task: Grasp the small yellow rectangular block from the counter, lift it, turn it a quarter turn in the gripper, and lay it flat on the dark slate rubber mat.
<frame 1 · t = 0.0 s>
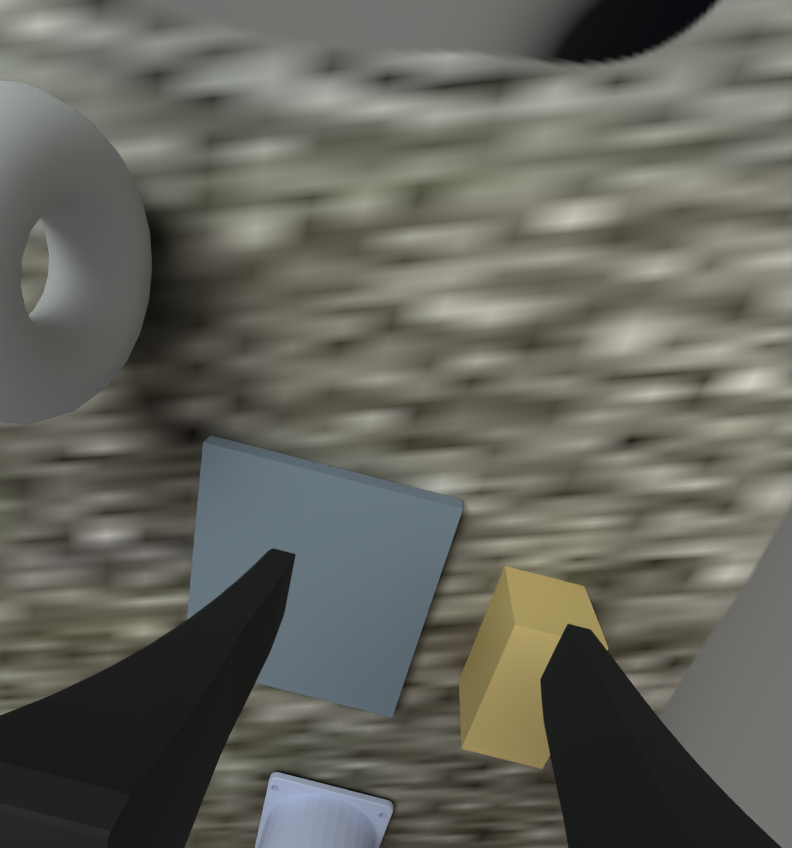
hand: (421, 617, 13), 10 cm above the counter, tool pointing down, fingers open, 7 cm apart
donut: (133, 258, 20), on the counter
yellow rectangular block: (517, 633, 26), on the counter
mat: (311, 584, 25), on the counter
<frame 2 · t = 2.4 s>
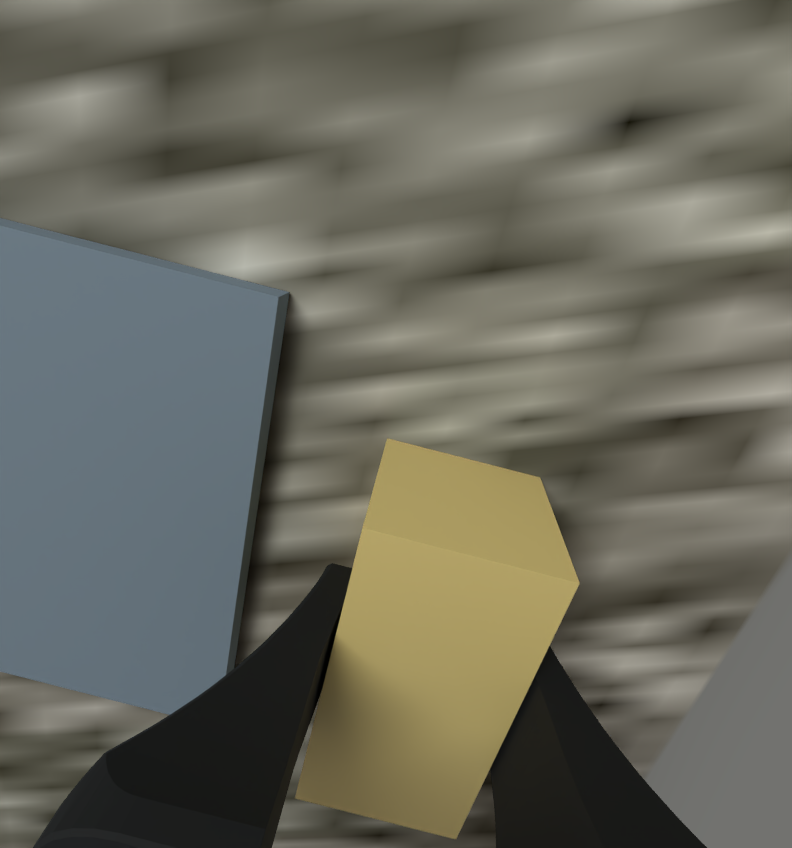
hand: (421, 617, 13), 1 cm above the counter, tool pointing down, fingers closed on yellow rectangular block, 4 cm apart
yellow rectangular block: (424, 580, 14), on the counter, touching gripper
mat: (48, 485, 14), on the counter
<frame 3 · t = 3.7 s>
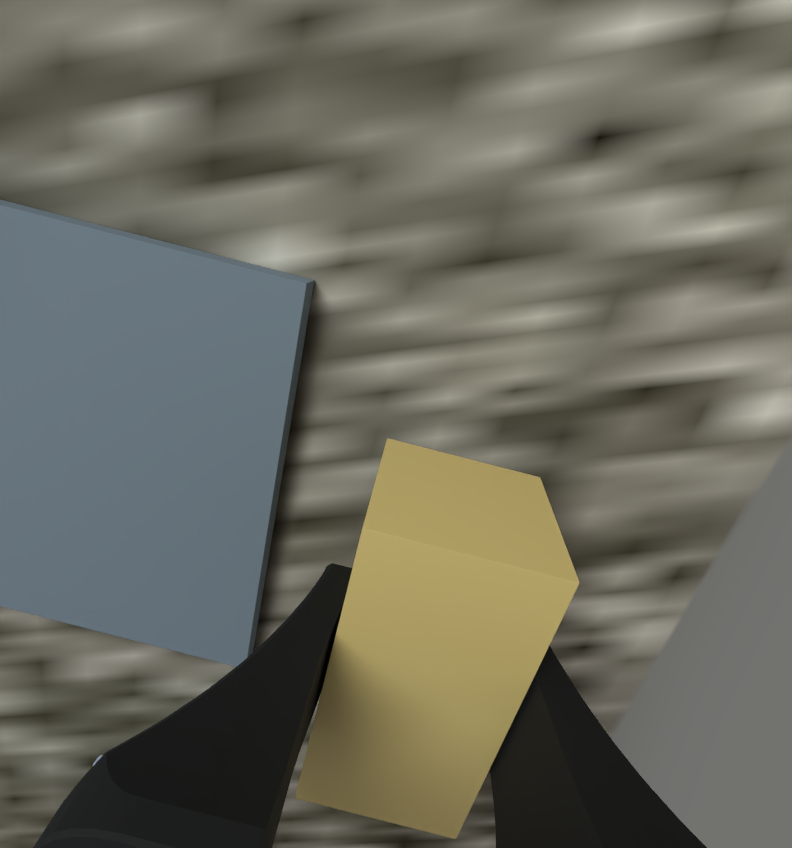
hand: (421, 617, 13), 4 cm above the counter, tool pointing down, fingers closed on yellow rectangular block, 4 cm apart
yellow rectangular block: (424, 579, 14), point 2 cm above the counter, touching gripper
mat: (99, 451, 16), on the counter
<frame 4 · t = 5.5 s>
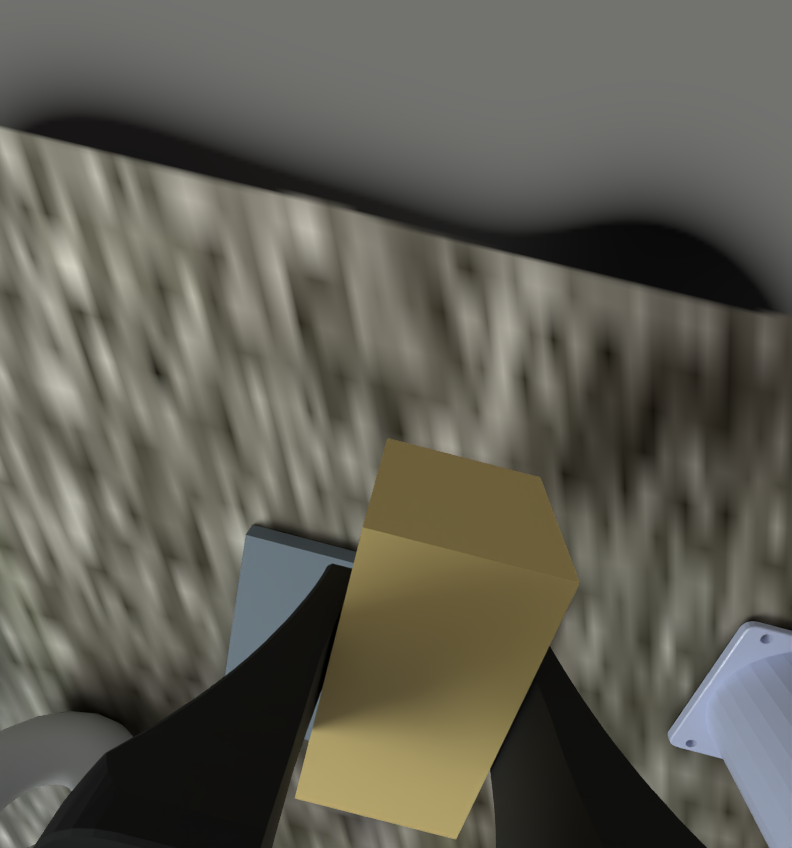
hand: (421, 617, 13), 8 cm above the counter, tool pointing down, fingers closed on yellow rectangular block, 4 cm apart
donut: (102, 715, 29), on the counter
yellow rectangular block: (424, 579, 14), point 7 cm above the counter, touching gripper
mat: (372, 657, 25), on the counter
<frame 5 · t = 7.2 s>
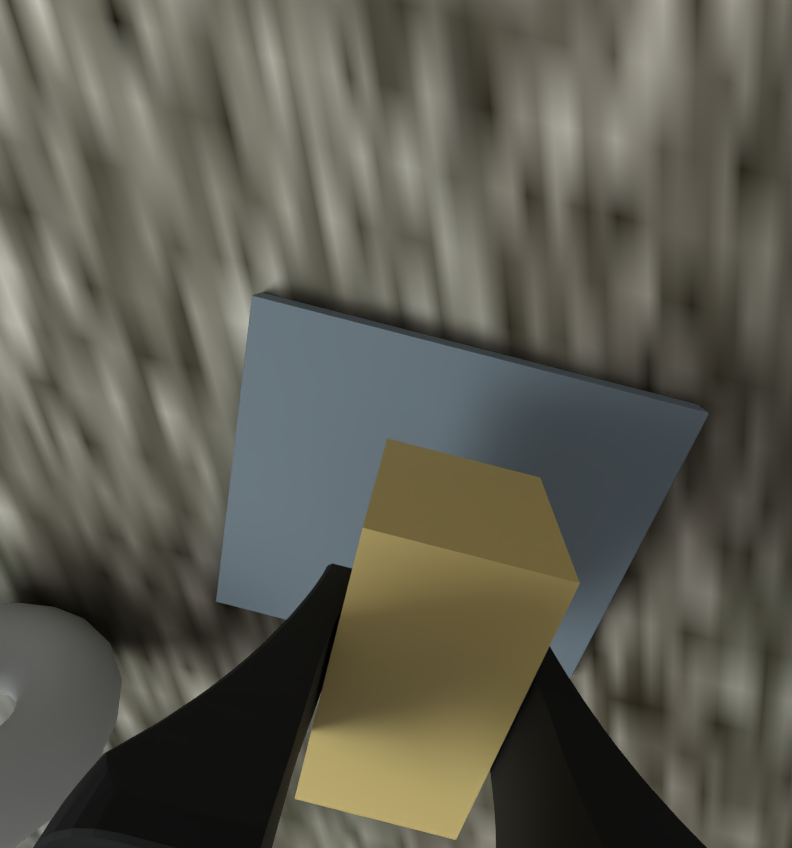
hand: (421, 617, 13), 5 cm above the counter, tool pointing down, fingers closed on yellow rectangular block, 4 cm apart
donut: (64, 614, 22), on the counter
yellow rectangular block: (424, 580, 14), point 4 cm above the counter, touching gripper
mat: (429, 507, 18), on the counter
when the fingers open (4 cm above the counter, at t = 8.4 s): yellow rectangular block drops 1 cm, resting on mat.
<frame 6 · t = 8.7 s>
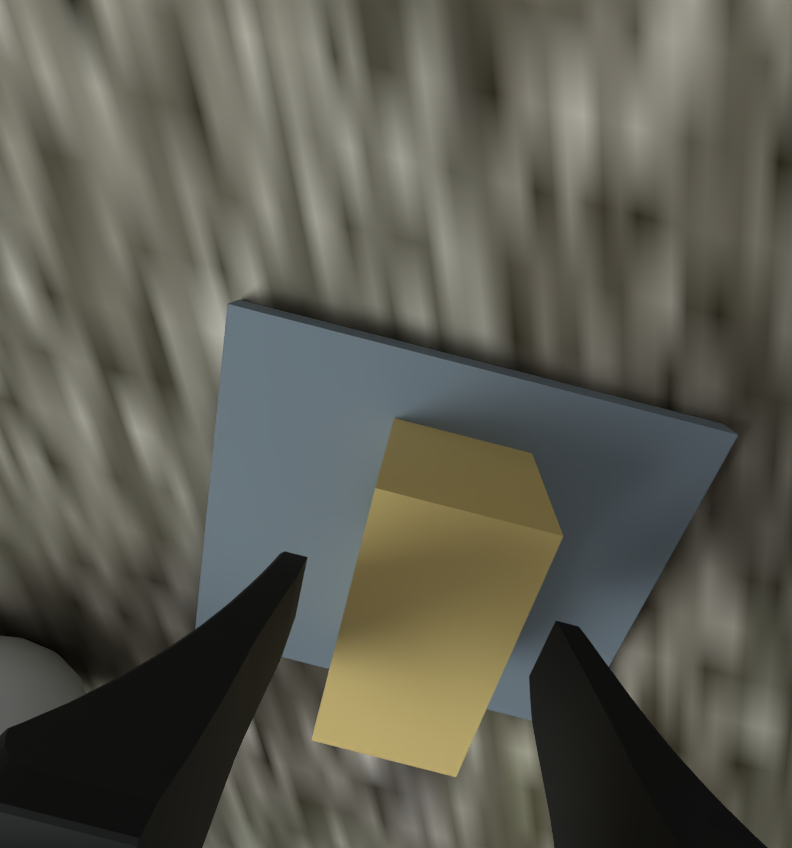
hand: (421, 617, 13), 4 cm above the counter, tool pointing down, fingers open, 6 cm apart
donut: (33, 644, 20), on the counter
yellow rectangular block: (426, 549, 15), point 1 cm above the counter, touching mat
mat: (426, 534, 16), on the counter
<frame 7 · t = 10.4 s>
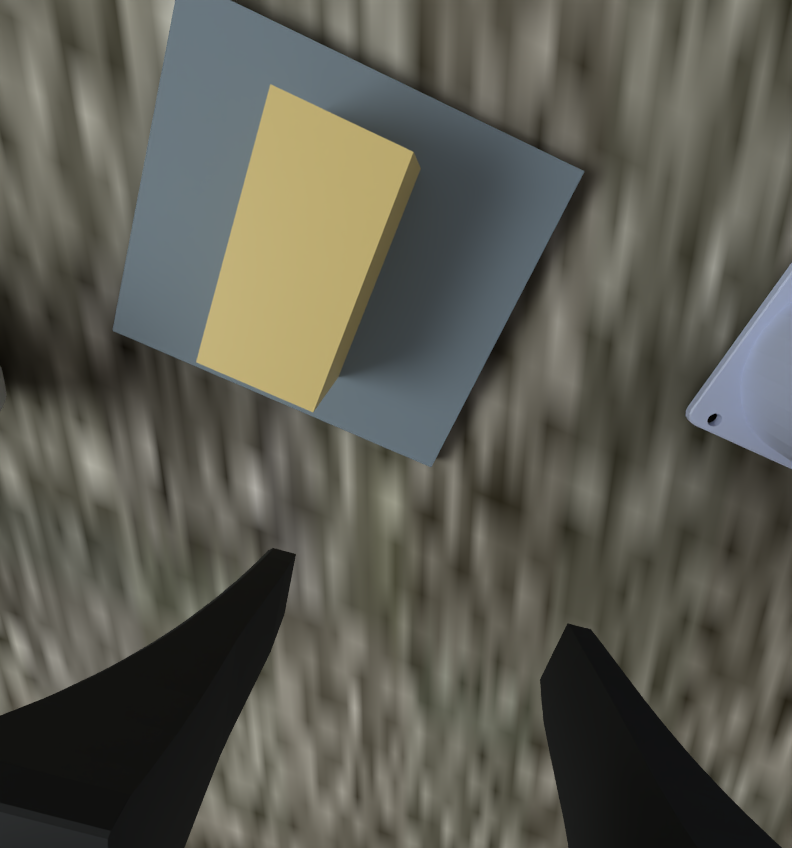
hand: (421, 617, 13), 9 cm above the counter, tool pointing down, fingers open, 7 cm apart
yellow rectangular block: (325, 258, 18), point 1 cm above the counter, touching mat
mat: (329, 257, 19), on the counter
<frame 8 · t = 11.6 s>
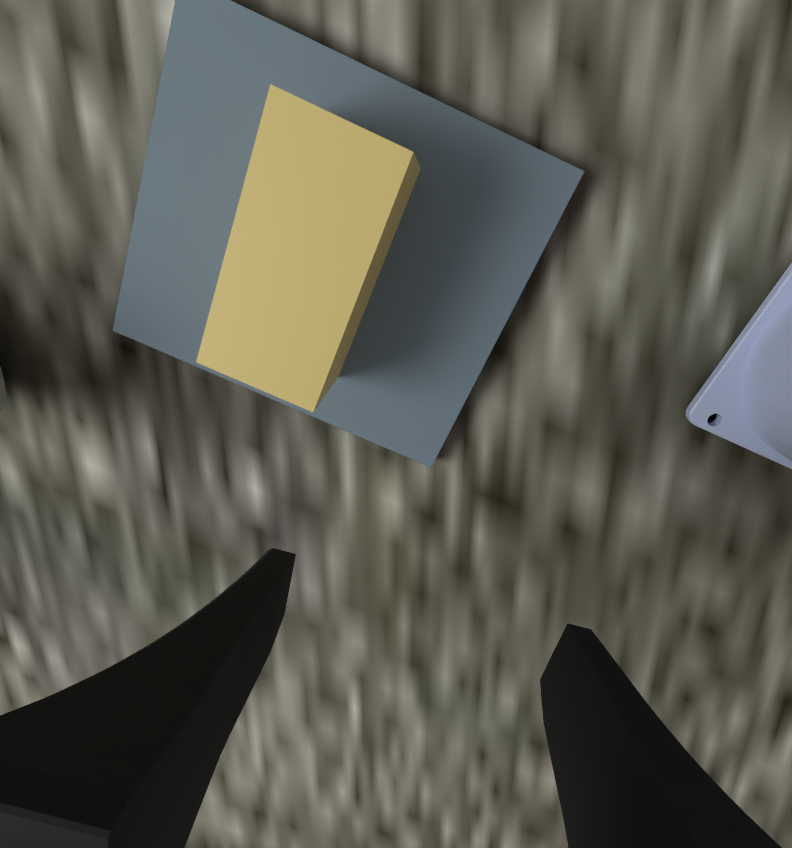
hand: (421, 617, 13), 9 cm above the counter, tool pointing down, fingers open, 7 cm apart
yellow rectangular block: (325, 258, 18), point 1 cm above the counter, touching mat
mat: (329, 257, 19), on the counter
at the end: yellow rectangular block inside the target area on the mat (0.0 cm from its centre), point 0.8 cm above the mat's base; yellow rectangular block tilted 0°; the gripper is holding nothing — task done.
